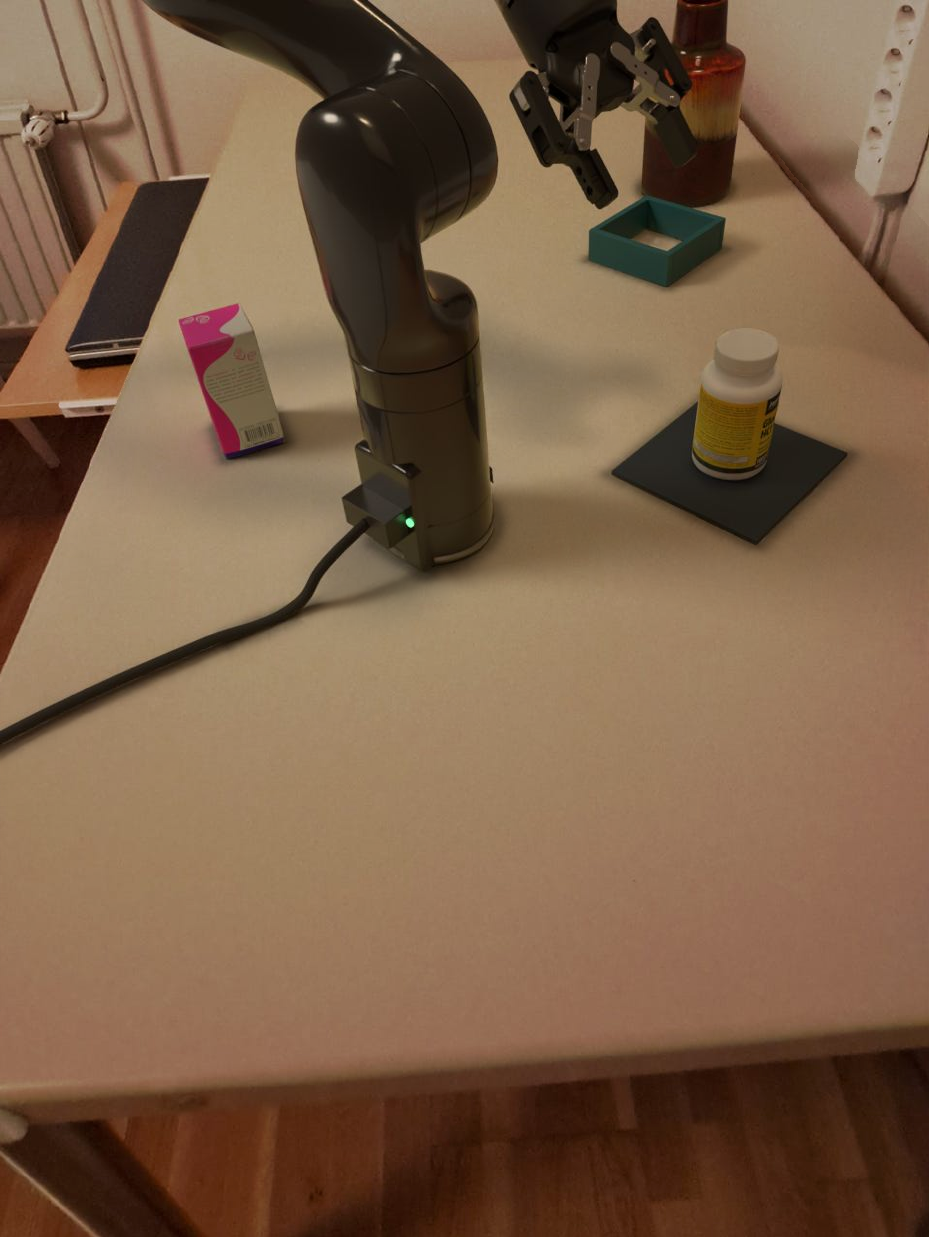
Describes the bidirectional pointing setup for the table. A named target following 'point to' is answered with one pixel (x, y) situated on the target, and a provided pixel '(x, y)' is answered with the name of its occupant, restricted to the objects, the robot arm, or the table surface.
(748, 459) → the pill bottle
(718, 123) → the vase
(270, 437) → the supplement box
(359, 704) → the table surface
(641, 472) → the mat
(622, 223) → the square frame
